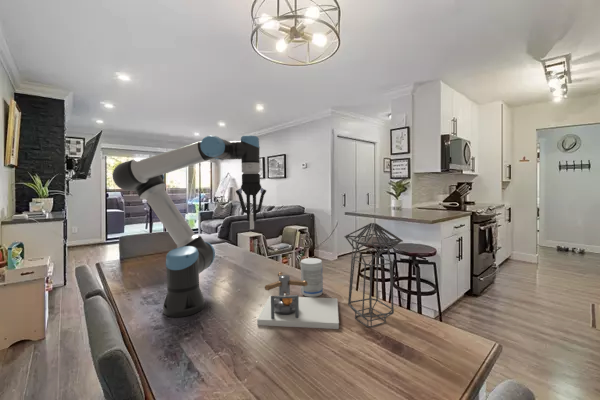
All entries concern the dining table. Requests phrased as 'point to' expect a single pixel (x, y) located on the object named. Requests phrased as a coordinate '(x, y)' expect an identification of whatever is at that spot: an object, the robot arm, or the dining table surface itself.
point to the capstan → (284, 304)
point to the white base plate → (302, 313)
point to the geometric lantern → (375, 229)
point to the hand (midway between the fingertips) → (252, 228)
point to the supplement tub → (312, 277)
